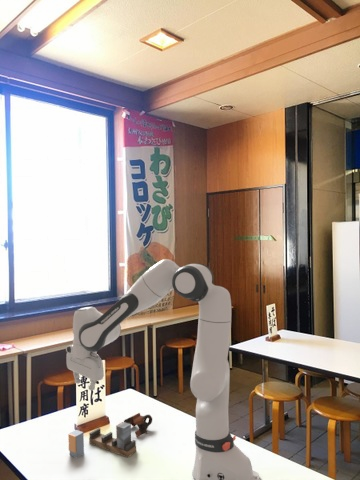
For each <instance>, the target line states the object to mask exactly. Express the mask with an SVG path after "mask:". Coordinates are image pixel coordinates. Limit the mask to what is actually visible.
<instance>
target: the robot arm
mask: <svg viewBox="0 0 360 480" xmlns="http://www.w3.org/2000/svg"><path fill="white" fill-rule="evenodd" d="M173 290H174V292H175V293H176V294H177V295H178V296H180V297H182V298H184V299H187V300H189V301H191V302H193V303H198V320H197V321H198V322H197V323H198V324H197V335H196V336H197V337H196V345H195V351H194V355H193V363H192V369H191V377H190V382H189V384H190V385H189V386H190V391H191V393H192V395H193V396H194V397H195V398H196V405H195V432H194V443H195V459H194V465H193V469H192V477H193V478H194V480H261V479H260V478H261V477H260V474H259V472H257V471H255V470H253V465H252V462H251V459H250V458H249V456H247V455H246V454H245V453H244V452H243V451H242V450H241V449H240V448H239V447H238V446H237V445H236V444H235V442H234V441H236V439H237V438H236V437H237V435H236V434H234V436H233V437H232V434H231V432H230V428H229V426H230V425H229V400H230V381H231V380H230V374H231V373H230V369H231V368H230V363H229V360H228V356H229V351H230V350H229V348H230V344H231V343H230V341H231V330H232V329H231V328H232V299H231V294H230V292H229V290H228V289H227V288H225V287H223V286H220V285H215V284H214V274H213V271H212V269H211V268H210V267H209V266H207V265H206V264H203V263H190V264H189V263H188V264H186V265H183V266H181V267H180V266H179V265H178V264H177V263H176V261H173V260H172V259H170V258H169V259H168V258H164V259H162V260H160V261H158V262H157V263H155V264H153V265H152V266H151V267H149V268H148V269H147V270H146V271H144V273H142V275H140V276H139V277H138V278H137V280H136V281H135V282H133V284H132V286H130V288H129V289H128V290H127V291H126V292H125V293H124V294H123V295H122V297H121V298H120V299H119V300H118V301H116V303H114V304H113V305H112V306H111V307H110V308H108V309H107V310H106V311H105V312H104V313H102V312H101V311H99V310H98V309H97V308H96V307H95V306H85V307H81V308H77V309H76V310H75V311H74V314H73V319H72V333H73V334H72V335H73V339H72V344H70V345H67V346H65V352H66V354H65V355H66V357H65V358H66V360H65V361H66V368H67V369H68V370H70V371H72V374H73V377H74V383H75V384H77V385H78V384H81V382H82V379H81V377H80V376H82V377H85V378H88V379H89V381H90V384H88V390H89V391H94V390H95V388H96V384H97V382H98V381H102V380H103V379H104V376H105V375H104V363H103V360H102V358H101V357H100V355H99V354H97V352H98V351H99V350H101V349H102V348H103V347H105V346H107V345H109V344H110V343H113V342H115V340H117V339H118V338H119V337H120V335H121V333H122V327H121V324H122V323H123V322H124V321H125V320H126V319H128V318H130V317H131V316H133V315H135V314H137V313H140V312H143V311H145V310H147V309H149V308H151V307H153V306H154V305H156V304H157V303H159V302H160V301H162V300H163V299H164V298H165V297H166V295H168V294H169V293H170V292H172V291H173Z"/></svg>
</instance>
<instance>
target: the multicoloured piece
mask: <svg viewBox="0 0 360 480" xmlns="http://www.w3.org/2000/svg"><path fill="white" fill-rule="evenodd" d="M84 436H85V435H84V431H82V430H81V431H80V430H78V429H75V430H73V431H71V432H69V434H68V451H69V456H71V457H72V456H73V457H75V458H79V457H81V456H82V455H84V454H85V443H84V442H85V441H84V438H85V437H84Z"/></svg>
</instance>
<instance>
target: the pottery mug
mask: <svg viewBox="0 0 360 480" xmlns="http://www.w3.org/2000/svg"><path fill="white" fill-rule="evenodd" d="M147 419H148V421H147ZM123 422H125V423H129V424H131V427H133V428H134V427H136V426H137V428H138V429H137V430H135V431H134V434H135V436H136V438H138V437H141V436H143V435H145V434H147V433H148V428H149V427H150V426H151V424H152V423H153V417H152V416H151V414H145V415H141V412H138V413H136V414H134V415H132V416H130V417H128V418H125V419H123Z"/></svg>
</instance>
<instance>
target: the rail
mask: <svg viewBox="0 0 360 480" xmlns="http://www.w3.org/2000/svg"><path fill="white" fill-rule="evenodd" d="M115 429H116V430H115V431H116V434H115V435H116V437H113V432H112V431H109V432H108V433H106V434H103V433H101V428H100V427H98V428H96V429H94V430H92V431H90V432H89V438H88V440H89V441H88V442H89V444H91V445H93V446H96V447H99V448H102V449H104V450H107V451H110V452H111V453H115V454H117V455H121V456H122V457H126V458H129V457H130V456H132V455H134V453H136V452H137V443H136V440H135V439H133V440H132V425H131V424H129V423H125V422H124V421H121V422H119V423H118V424H117V425H116V426H115Z"/></svg>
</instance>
